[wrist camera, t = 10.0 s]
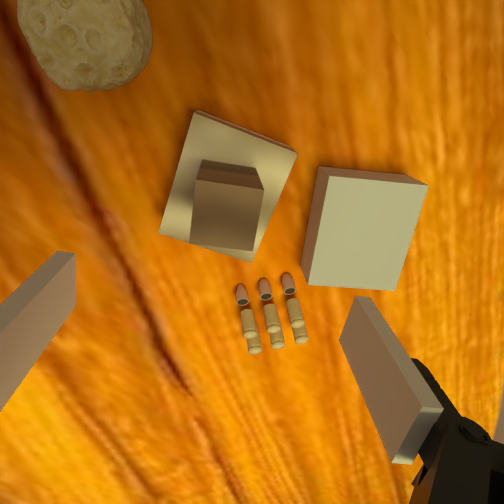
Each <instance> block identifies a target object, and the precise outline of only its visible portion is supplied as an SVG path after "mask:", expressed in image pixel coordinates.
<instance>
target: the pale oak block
mask: <svg viewBox="0 0 504 504" xmlns="http://www.w3.org/2000/svg"><path fill="white" fill-rule="evenodd" d="M297 154H298V153H297V152H296V151H295V150H294V149H293V148H292V147H291V146H289V145H286V144H283V143H281V142H278V141H276V140H273V139H271V138H268V137H266V136H263V135H261V134H258V133H256V132H253V131H251V130H248V129H246V128H243V127H241V126H238V125H235V124H233V123H230V122H228V121H225V120H223V119H220V118H218V117H215V116H213V115H210V114H208V113H205V112H203V111H200V110H197V111H195V112H194V113H193V116H192V120H191V123H190V127H189V130H188V133H187V137H186V140H185V144H184V147H183V150H182V154H181V157H180V161H179V164H178V168H177V171H176V174H175V178H174V181H173V185H172V188H171V192H170V195H169V198H168V202H167V205H166V209H165V212H164V215H163V219H162V222H161V226H160V229H159V234H162V235H166V236H169V237H172V238H175V239H178V240H181V241H184V242H188V243H189V238H190V229H191V219H192V210H193V201H194V191H195V182H196V177H197V174H198V171H199V168H200V165H201V162H202V159H204V160H210V161H216V162H222V163H229V164H235V165H241V166H247V167H253V168H256V170H257V172H258V175H259V177H260V180H261V183H262V185H263V188H264V195H263V200H262V206H261V211H260V216H259V221H258V227H257V232H256V237H255V243H254V248H253V252H252V251H244V250H237V249H229V248H221V247H213V246H205V245H197V244H194V245H197V246H200V247H203V248H206V249H210V250H213V251H216V252H219V253H222V254H225V255H228V256H232V257H235V258H238V259H241V260H244V261H247V262H250V263H252V261H253V259H254V256H255V254H256V252H257V249H258V247H259V244H260V242H261V240H262V237H263V235H264V233H265V230H266V228H267V225H268V223H269V221H270V218H271V216H272V214H273V211H274V209H275V206H276V204H277V202H278V199H279V197H280V195H281V192H282V190H283V187H284V185H285V183H286V180H287V178H288V176H289V173H290V171H291V169H292V166H293V164H294V161H295V159H296V157H297Z"/></svg>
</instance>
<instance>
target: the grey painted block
mask: <svg viewBox="0 0 504 504" xmlns="http://www.w3.org/2000/svg"><path fill="white" fill-rule="evenodd" d="M428 186H429V185H427V184H424V183H422V182H420V181H418V180H416V179H414V178H412V177H410V176H408V175H403V174H393V173H383V172H373V171H363V170H353V169H343V168H333V167H323V166H318V171H317V177H316V182H315V188H314V193H313V199H312V204H311V209H310V215H309V220H308V226H307V231H306V237H305V242H304V248H303V253H302V258H301V264H300V266H301V269H302V271H303V274H304V276H305V279H306V281H307V284H308V285H318V286H333V287H347V288H362V289H377V290H392V291H395V289H396V286H397V283H398V280H399V277H400V274H401V271H402V268H403V264H404V261H405V258H406V255H407V252H408V249H409V246H410V243H411V239H412V236H413V233H414V230H415V227H416V224H417V221H418V217H419V214H420V211H421V208H422V205H423V202H424V199H425V196H426V192H427V189H428Z"/></svg>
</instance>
